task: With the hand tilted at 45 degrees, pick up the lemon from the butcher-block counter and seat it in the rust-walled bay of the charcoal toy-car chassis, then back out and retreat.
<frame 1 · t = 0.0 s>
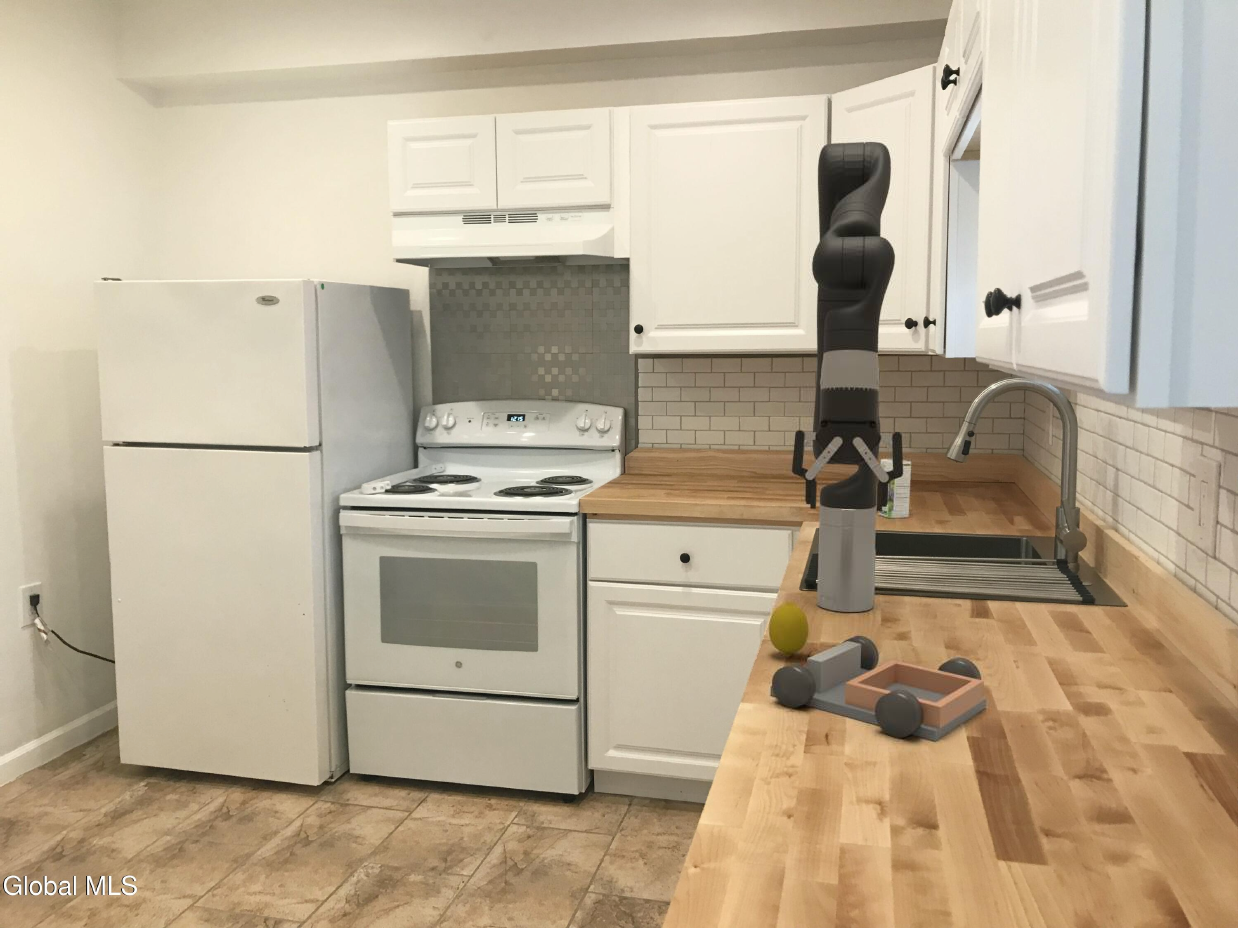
hand: (845, 509, 134), 22 cm above the worktop, tool pointing down, fingers open, 8 cm apart
lemon: (788, 657, 144), on the worktop
syrup box: (893, 517, 259), on the worktop
chassis: (876, 701, 127), on the worktop
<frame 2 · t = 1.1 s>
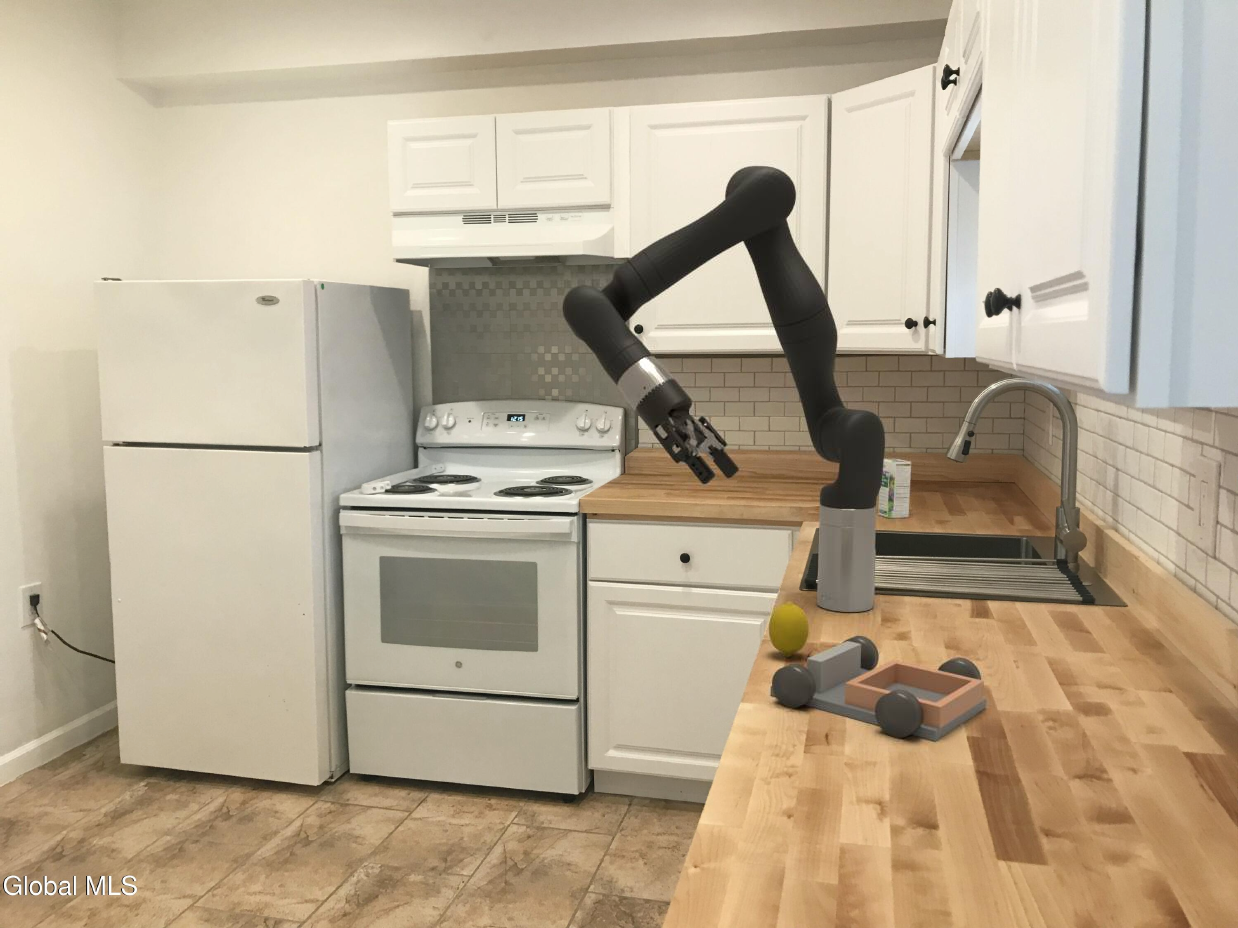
hand: (722, 477, 147), 25 cm above the worktop, tool tilted 45°, fingers open, 8 cm apart
nothing on the worktop moved.
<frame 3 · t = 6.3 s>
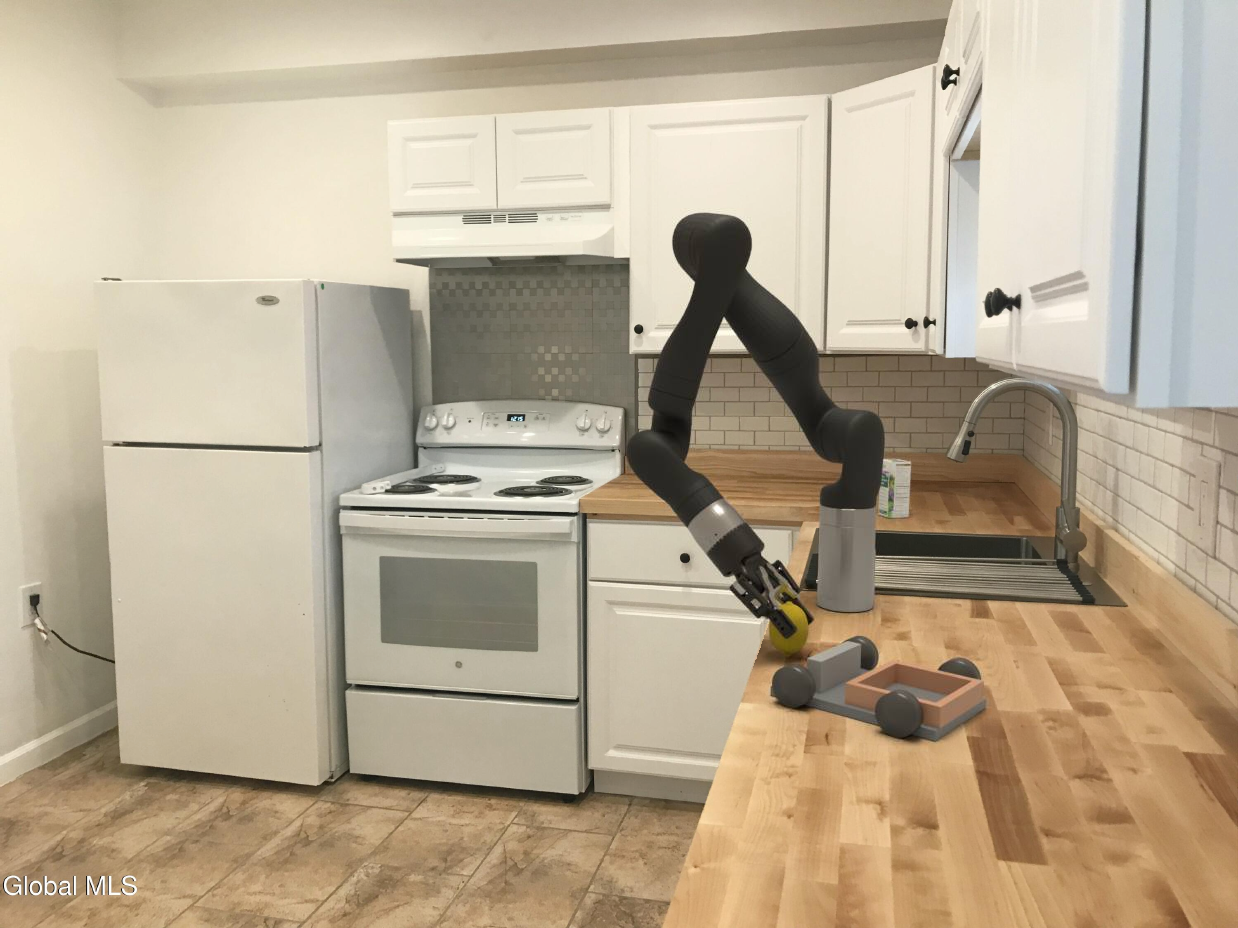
hand: (800, 629, 143), 4 cm above the worktop, tool tilted 45°, fingers closed on lemon, 5 cm apart
lemon: (788, 657, 144), on the worktop, touching gripper
everything else where it was.
when the fingers open (7 cm above the worktop, at t = 12.6 s): lemon drops 2 cm, resting on chassis.
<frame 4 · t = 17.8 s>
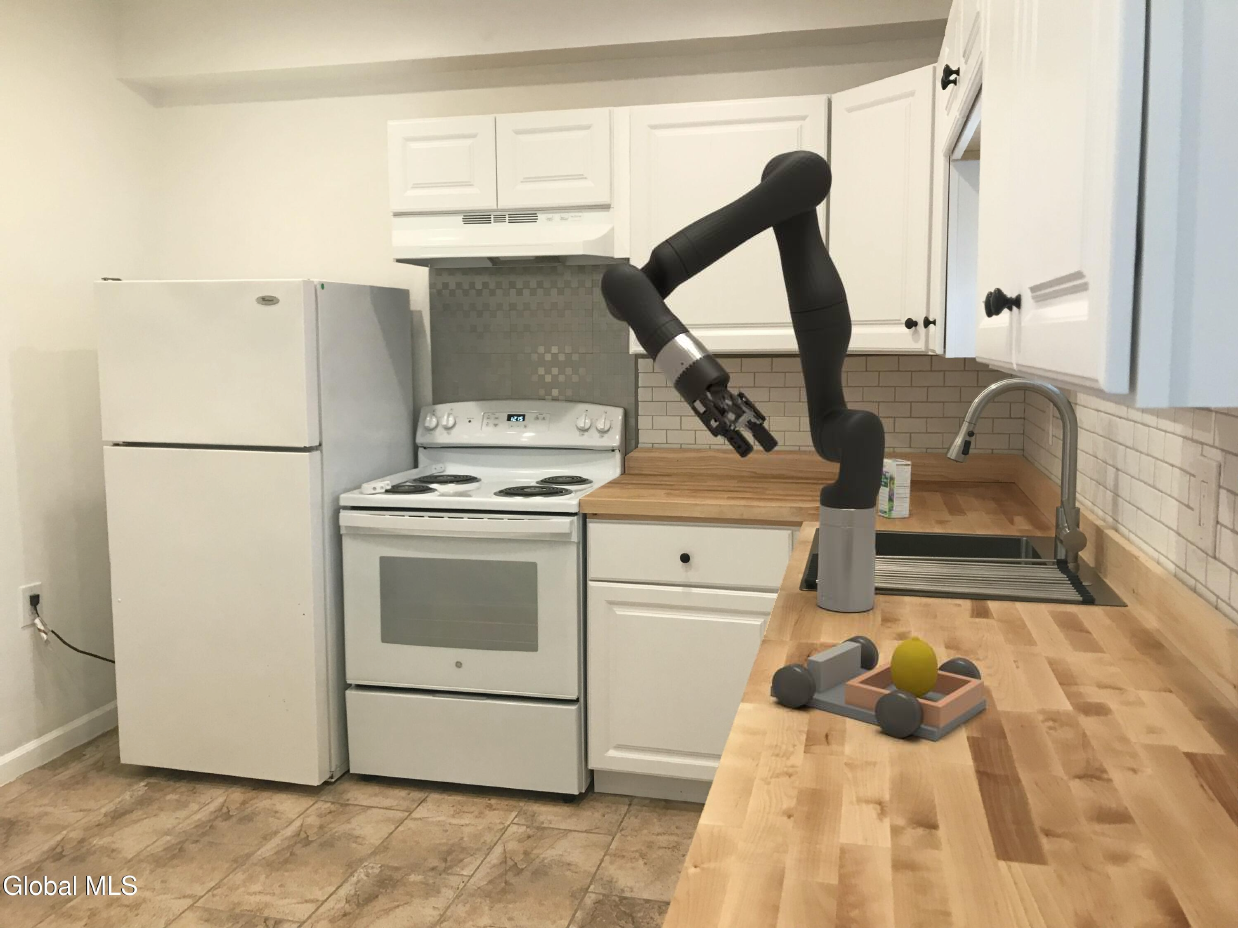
hand: (761, 451, 147), 29 cm above the worktop, tool tilted 45°, fingers open, 8 cm apart
lemon: (912, 702, 123), point 1 cm above the worktop, touching chassis
everything else where it was.
at the end: lemon inside the target area on the chassis (0.4 cm from its centre), point 1.0 cm above the chassis's base; the gripper is holding nothing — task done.
